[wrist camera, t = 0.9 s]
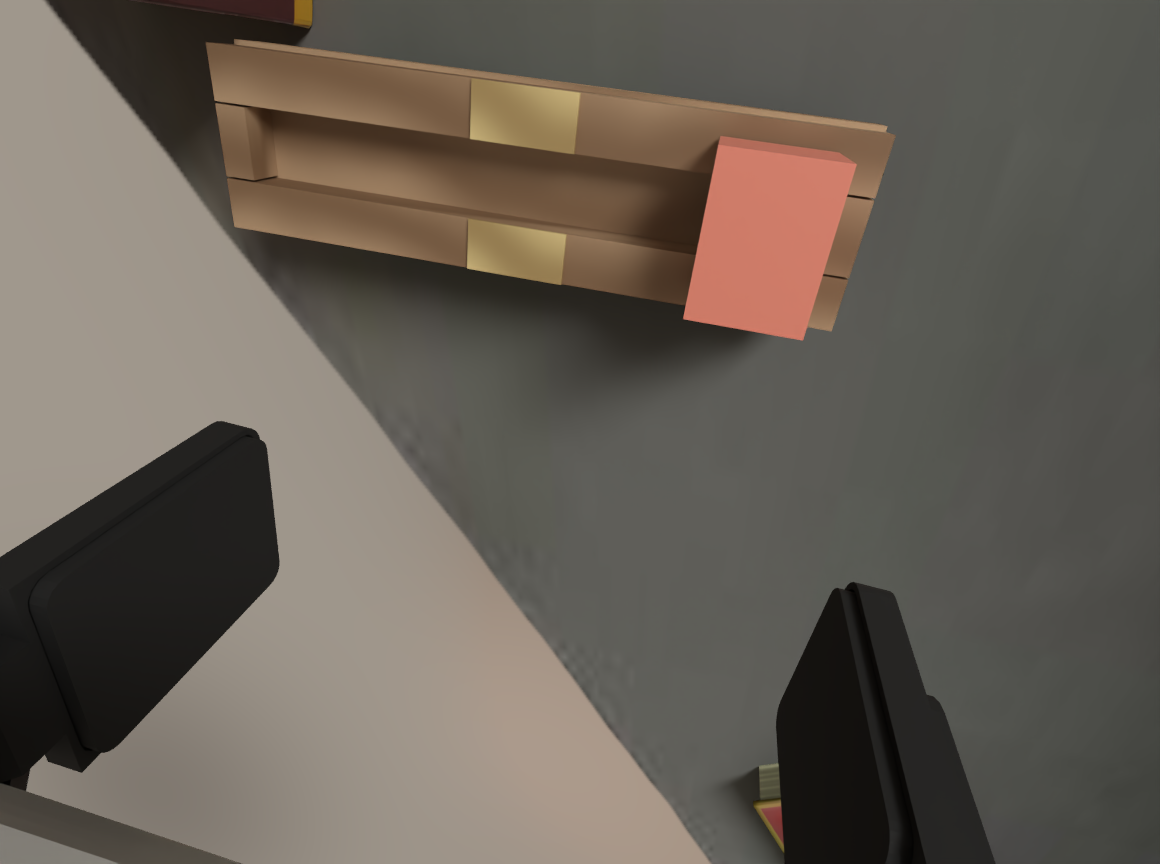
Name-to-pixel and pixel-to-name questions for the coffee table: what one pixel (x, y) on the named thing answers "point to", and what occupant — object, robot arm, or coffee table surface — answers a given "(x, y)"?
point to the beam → (502, 167)
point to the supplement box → (250, 9)
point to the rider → (766, 235)
